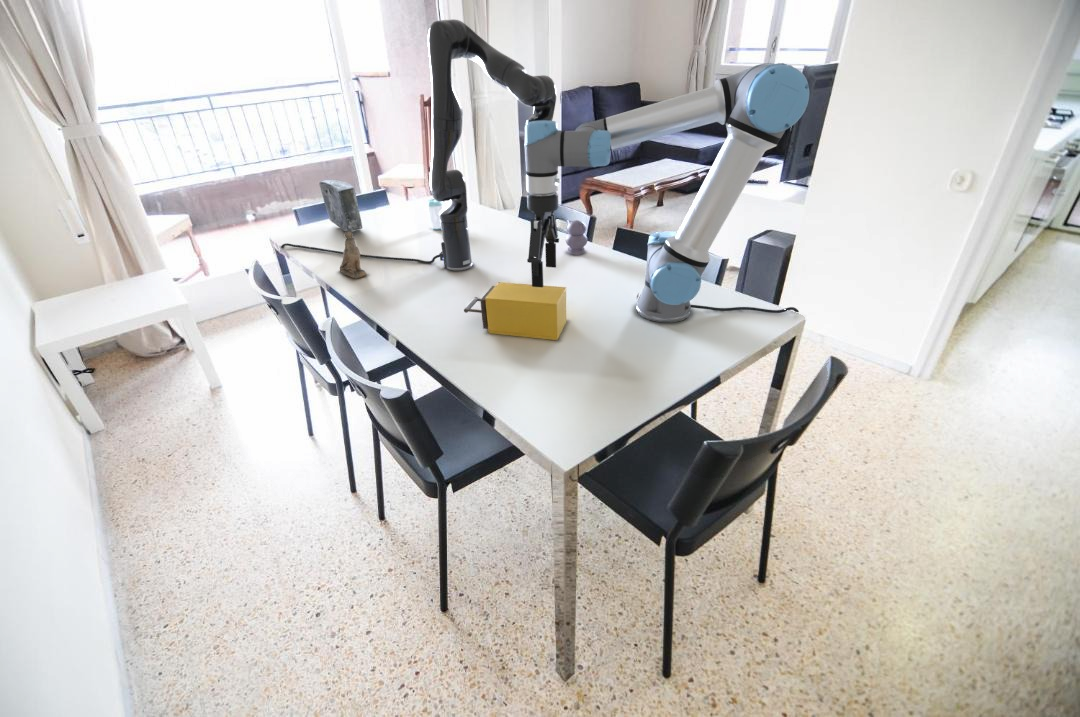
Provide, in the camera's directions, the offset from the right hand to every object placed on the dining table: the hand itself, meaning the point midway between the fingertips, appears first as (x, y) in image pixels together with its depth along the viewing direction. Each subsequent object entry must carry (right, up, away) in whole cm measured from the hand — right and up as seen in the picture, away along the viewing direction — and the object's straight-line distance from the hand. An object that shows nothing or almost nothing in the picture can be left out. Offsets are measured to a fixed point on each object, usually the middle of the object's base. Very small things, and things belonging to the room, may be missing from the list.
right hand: (544, 276), depth 129 cm
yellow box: (-5, -13, +9) cm, 17 cm away
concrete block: (-88, +37, +96) cm, 136 cm away
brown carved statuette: (-69, +9, +49) cm, 85 cm away
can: (-47, +37, +94) cm, 111 cm away
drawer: (-9, -11, +10) cm, 18 cm away
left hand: (-1, +21, +17) cm, 27 cm away
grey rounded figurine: (+13, +19, +60) cm, 65 cm away
